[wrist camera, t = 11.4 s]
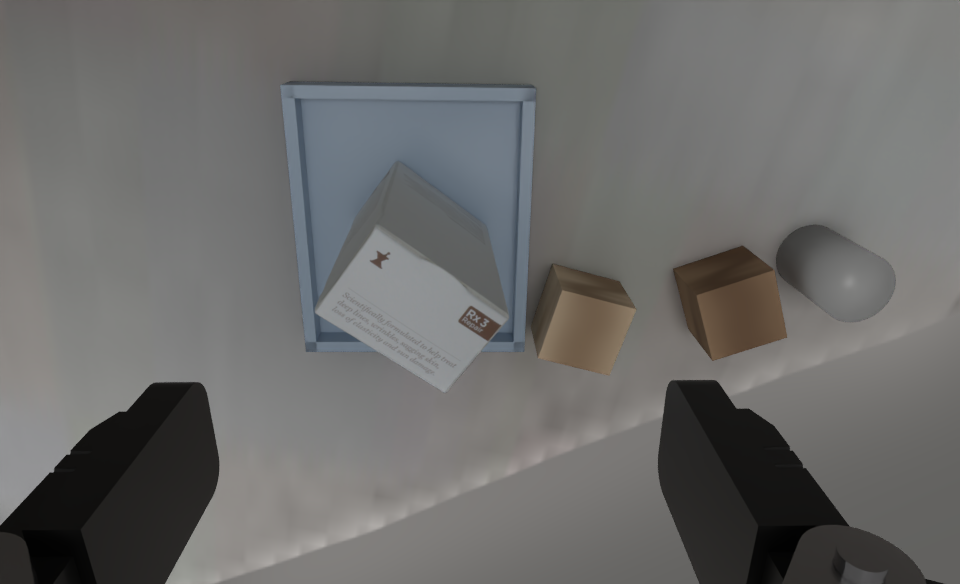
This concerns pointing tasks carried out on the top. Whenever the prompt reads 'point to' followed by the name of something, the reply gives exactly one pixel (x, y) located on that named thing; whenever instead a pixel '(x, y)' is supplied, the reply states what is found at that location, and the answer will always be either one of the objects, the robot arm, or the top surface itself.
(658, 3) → the top surface
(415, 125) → the tray
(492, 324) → the skincare box
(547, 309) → the beech block
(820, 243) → the grey capsule
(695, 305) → the walnut block
